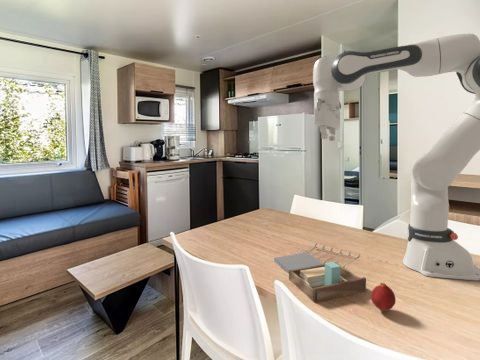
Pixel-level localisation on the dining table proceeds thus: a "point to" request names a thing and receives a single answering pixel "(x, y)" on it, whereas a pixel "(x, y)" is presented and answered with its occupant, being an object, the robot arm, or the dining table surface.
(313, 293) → the wooden tray
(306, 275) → the offcut stack
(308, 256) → the tile
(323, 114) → the robot arm
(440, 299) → the dining table surface
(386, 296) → the onion
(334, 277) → the teal rectangular block
